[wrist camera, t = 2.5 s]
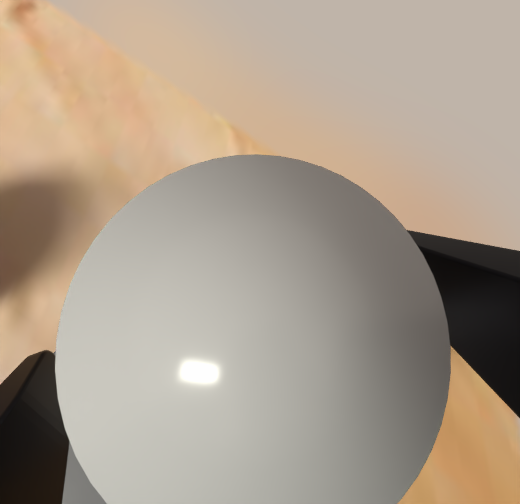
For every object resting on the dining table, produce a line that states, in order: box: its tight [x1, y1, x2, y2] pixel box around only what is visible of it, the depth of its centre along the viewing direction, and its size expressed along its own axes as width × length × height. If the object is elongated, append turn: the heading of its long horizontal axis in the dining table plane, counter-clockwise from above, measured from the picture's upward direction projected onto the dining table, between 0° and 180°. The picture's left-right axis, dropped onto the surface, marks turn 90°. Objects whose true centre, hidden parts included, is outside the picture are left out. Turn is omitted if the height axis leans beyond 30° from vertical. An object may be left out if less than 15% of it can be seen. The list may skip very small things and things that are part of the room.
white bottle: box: [55, 155, 451, 504], centre depth 9 cm, size 5×5×12 cm
